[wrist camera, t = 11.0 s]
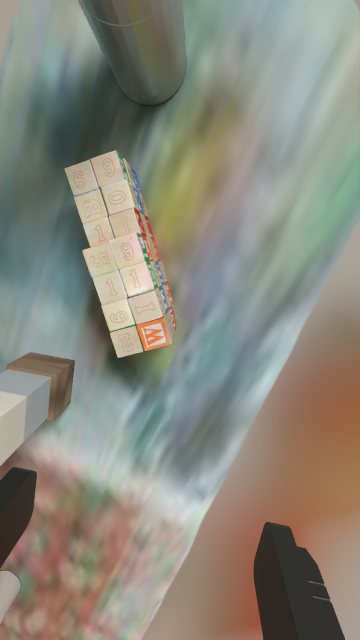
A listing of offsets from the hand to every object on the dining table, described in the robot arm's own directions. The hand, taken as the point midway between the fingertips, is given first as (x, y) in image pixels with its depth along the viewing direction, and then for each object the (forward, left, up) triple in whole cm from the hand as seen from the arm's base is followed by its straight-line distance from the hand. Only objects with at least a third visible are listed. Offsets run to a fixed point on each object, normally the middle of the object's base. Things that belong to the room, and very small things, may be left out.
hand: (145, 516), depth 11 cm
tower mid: (+13, -20, -30) cm, 38 cm away
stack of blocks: (-8, -9, -36) cm, 38 cm away
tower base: (+13, -19, -36) cm, 43 cm away
